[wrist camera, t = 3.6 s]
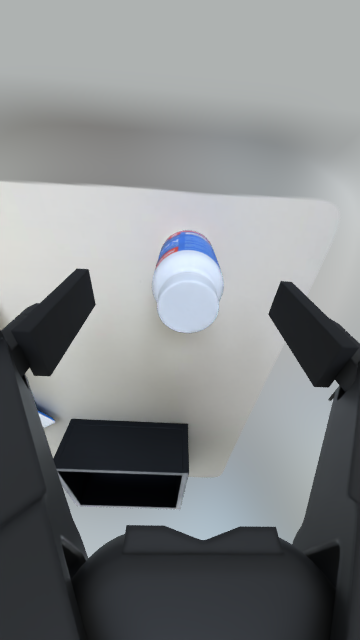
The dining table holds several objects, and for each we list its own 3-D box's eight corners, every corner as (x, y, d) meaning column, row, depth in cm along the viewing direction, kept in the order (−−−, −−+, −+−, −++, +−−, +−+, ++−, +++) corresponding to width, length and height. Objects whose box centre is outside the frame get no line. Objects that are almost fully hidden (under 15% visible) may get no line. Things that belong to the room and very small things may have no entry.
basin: (187, 423, 40) (189, 473, 33) (180, 466, 51) (180, 509, 45) (71, 418, 39) (48, 468, 32) (90, 463, 50) (76, 506, 44)
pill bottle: (171, 219, 19) (164, 251, 11) (222, 242, 20) (249, 287, 12) (152, 271, 22) (136, 326, 14) (198, 289, 23) (207, 349, 15)
